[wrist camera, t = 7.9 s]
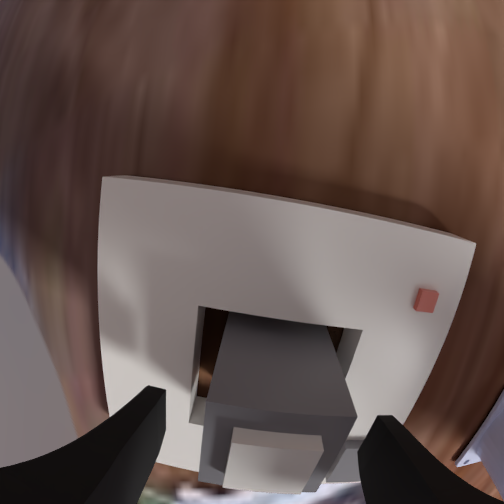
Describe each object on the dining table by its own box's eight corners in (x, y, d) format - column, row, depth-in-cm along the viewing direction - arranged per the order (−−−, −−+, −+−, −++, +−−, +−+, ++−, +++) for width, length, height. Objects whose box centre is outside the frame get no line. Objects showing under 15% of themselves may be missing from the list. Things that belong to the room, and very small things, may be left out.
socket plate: (451, 233, 12) (485, 247, 9) (358, 458, 15) (367, 489, 13) (125, 175, 12) (94, 177, 9) (127, 427, 15) (112, 457, 13)
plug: (324, 320, 13) (362, 432, 7) (302, 391, 14) (316, 505, 8) (230, 306, 13) (202, 416, 7) (220, 380, 14) (195, 493, 8)
